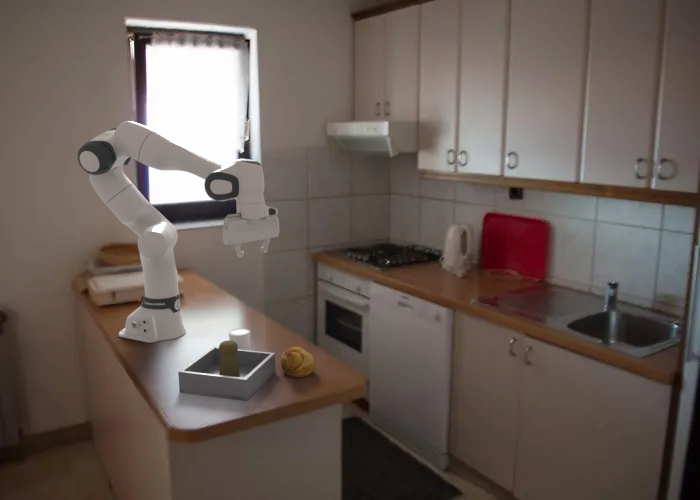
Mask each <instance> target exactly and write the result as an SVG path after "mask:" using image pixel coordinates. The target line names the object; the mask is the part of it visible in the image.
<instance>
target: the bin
mask: <svg viewBox="0 0 700 500" xmlns="http://www.w3.org/2000/svg"><path fill="white" fill-rule="evenodd" d="M236 356H237V361H238V367H239V373H240V377H232V376H224V375H219V373H220V362H221V353H220V351H219V346H212V347H211V348H209V349H208V350H207V351H205V352H204V353H202V354H201V355H200V356H198V357H197V358H195V359H194V360H192V361H191V362H190V363H188V364H187V365H186V366H184V367H183V368H182V369H180V370H179V371H178V386H179V389H178V390H179V393H182V394H189V395H197V396H205V397H212V398H221V399H228V400H234V401H235V400H237V401H244V402H245V401H246V402H248V401H249V399H251V398H252V396H253V395H254V394H255V393H257V392H258V390H259V389H261V387H263V386H264V385H265V384H266V382H268V381H269V379H271V377H273V376H274V374H276V353H275V352H269V351H260V350H251V349H249V350H241V349H238V350H237V352H236Z"/></svg>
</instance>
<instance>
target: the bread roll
mask: <svg viewBox="0 0 700 500" xmlns="http://www.w3.org/2000/svg"><path fill="white" fill-rule="evenodd" d="M280 366H281V369H282V370H283V372H284V373H285V374H286V375H287V376H289V377H292V378H304V377H307V376H310V375H311V374H312V373H313V372H314V370H315V368H316V361H315V358H314V357H313V355H312V354H311V353H310V352H308V351H306V349H304V348H303V347H300V346H292V347H288V348H287V349H285V350H284V351H283V352H282V355H281V360H280Z"/></svg>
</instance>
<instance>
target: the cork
mask: <svg viewBox="0 0 700 500" xmlns="http://www.w3.org/2000/svg"><path fill="white" fill-rule="evenodd" d="M218 347H219V351H220V353H221V362H220V373H219V375H224V376H232V377H240V373H239V367H238V361H237V356H236V352H237V350H238V345H237V343H236V342H235V341H231V340H230V339H229V340H223V341H221V342H220V343H219V346H218Z"/></svg>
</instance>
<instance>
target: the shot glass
mask: <svg viewBox="0 0 700 500" xmlns="http://www.w3.org/2000/svg"><path fill="white" fill-rule="evenodd" d="M228 339H229V340H231V341H235V342H236V343H237V345H238V349H241V350H250V344H251V330H250V329H248V328H235V329H231V330H229V331H228Z"/></svg>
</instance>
